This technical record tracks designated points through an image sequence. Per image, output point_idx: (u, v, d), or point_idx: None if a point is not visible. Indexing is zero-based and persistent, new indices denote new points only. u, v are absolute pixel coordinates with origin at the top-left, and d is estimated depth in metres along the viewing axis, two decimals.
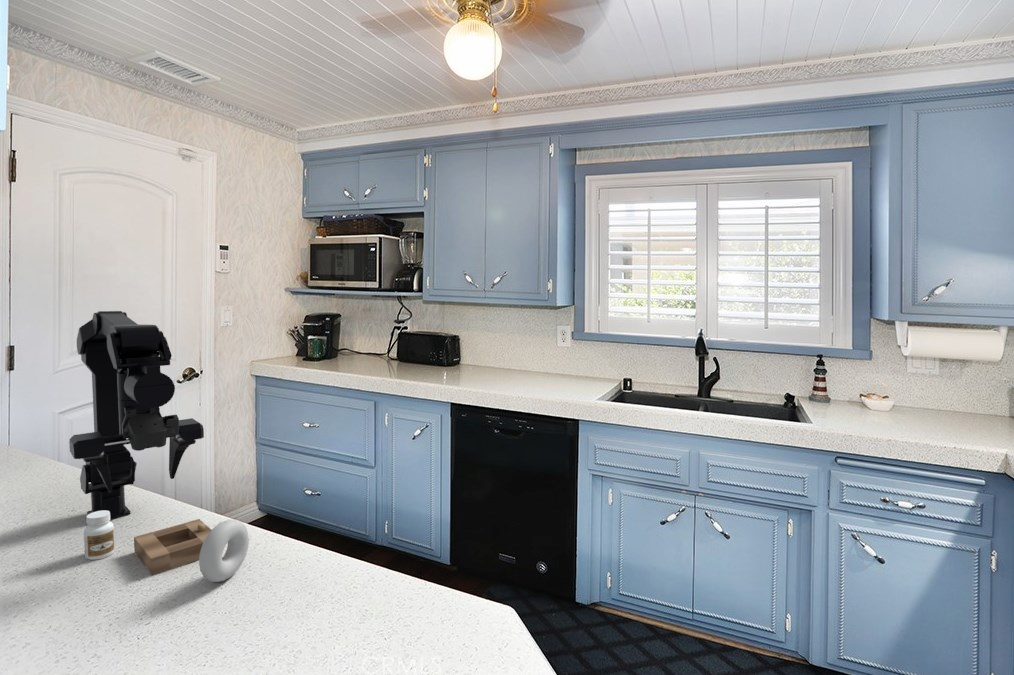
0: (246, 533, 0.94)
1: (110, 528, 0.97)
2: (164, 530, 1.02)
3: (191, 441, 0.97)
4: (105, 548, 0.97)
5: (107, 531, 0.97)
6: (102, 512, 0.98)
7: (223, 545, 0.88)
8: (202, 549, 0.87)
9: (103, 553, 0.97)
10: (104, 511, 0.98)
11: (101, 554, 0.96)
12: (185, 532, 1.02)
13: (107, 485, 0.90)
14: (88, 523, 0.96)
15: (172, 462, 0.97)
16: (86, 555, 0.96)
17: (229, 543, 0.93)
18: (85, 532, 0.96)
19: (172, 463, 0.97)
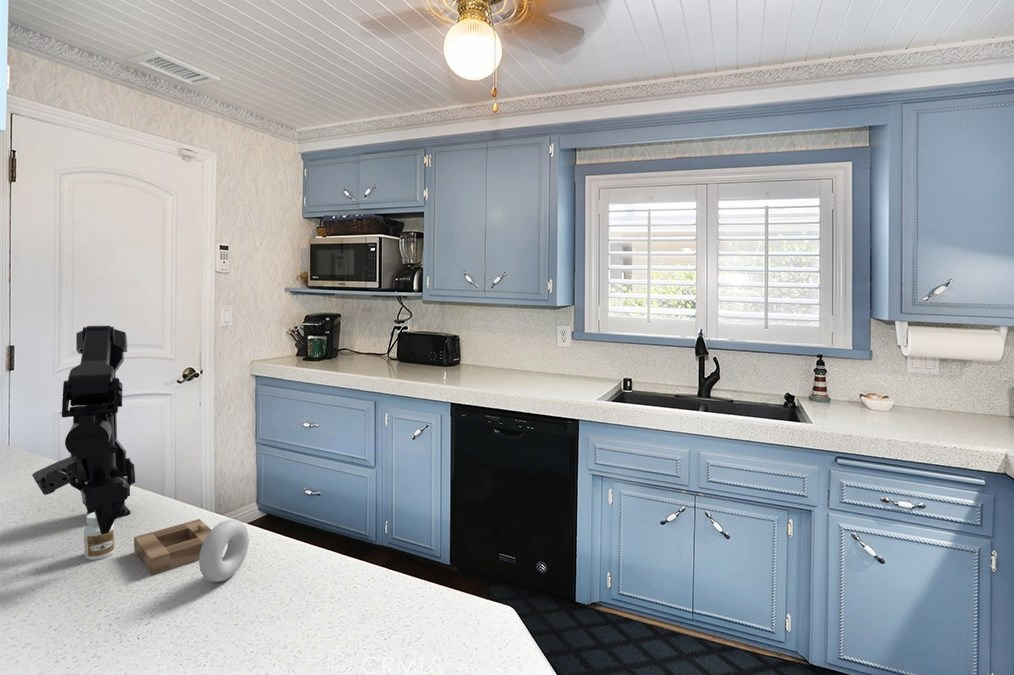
0: (246, 533, 0.94)
1: None
2: (164, 530, 1.02)
3: None
4: (105, 548, 0.97)
5: None
6: None
7: (223, 545, 0.88)
8: (202, 549, 0.87)
9: (103, 553, 0.97)
10: None
11: (101, 554, 0.96)
12: (185, 532, 1.02)
13: (87, 510, 1.00)
14: (88, 523, 0.96)
15: None
16: (86, 555, 0.96)
17: (229, 543, 0.93)
18: (85, 532, 0.96)
19: None
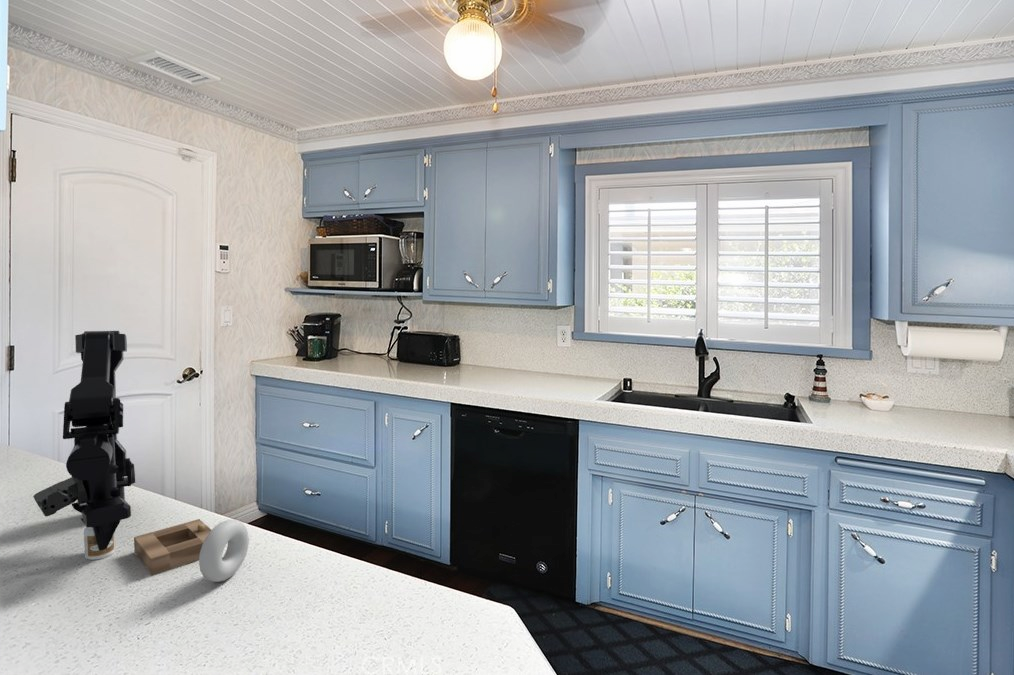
0: (246, 533, 0.94)
1: None
2: (164, 530, 1.02)
3: None
4: None
5: None
6: None
7: (223, 545, 0.88)
8: (202, 549, 0.87)
9: (103, 553, 0.97)
10: None
11: (101, 553, 0.96)
12: (185, 532, 1.02)
13: None
14: None
15: None
16: (86, 555, 0.96)
17: (229, 543, 0.93)
18: (85, 532, 0.96)
19: None
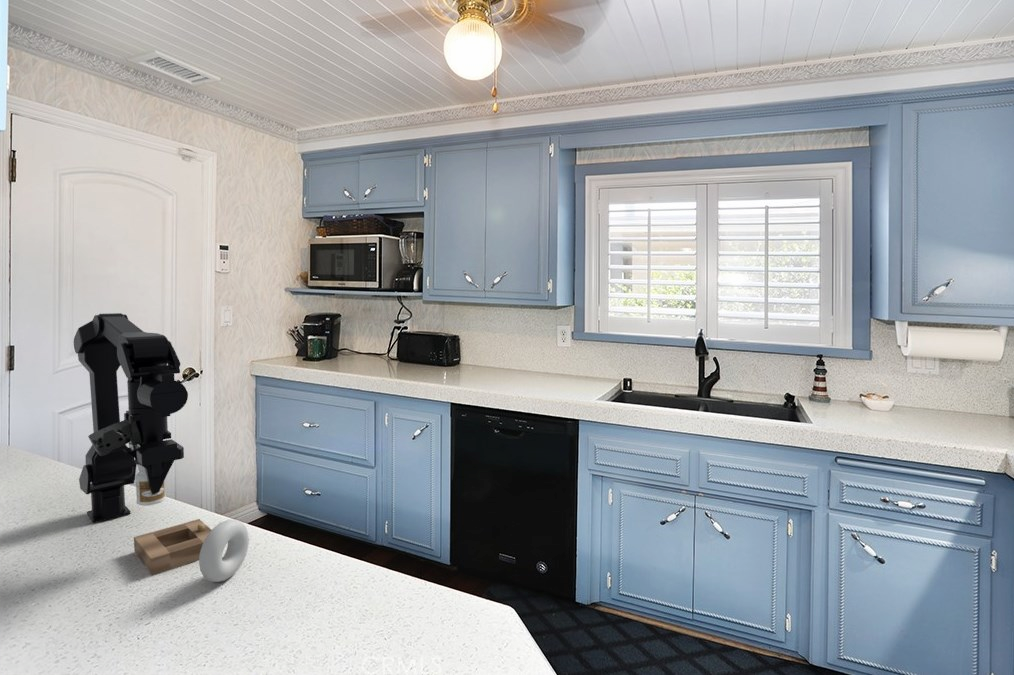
0: (246, 533, 0.94)
1: None
2: (164, 530, 1.02)
3: None
4: (156, 494, 0.96)
5: None
6: None
7: (223, 545, 0.88)
8: (202, 549, 0.87)
9: (154, 499, 0.96)
10: None
11: (153, 500, 0.96)
12: (185, 532, 1.02)
13: None
14: (140, 469, 0.95)
15: None
16: (138, 501, 0.96)
17: (229, 543, 0.93)
18: (137, 477, 0.95)
19: None
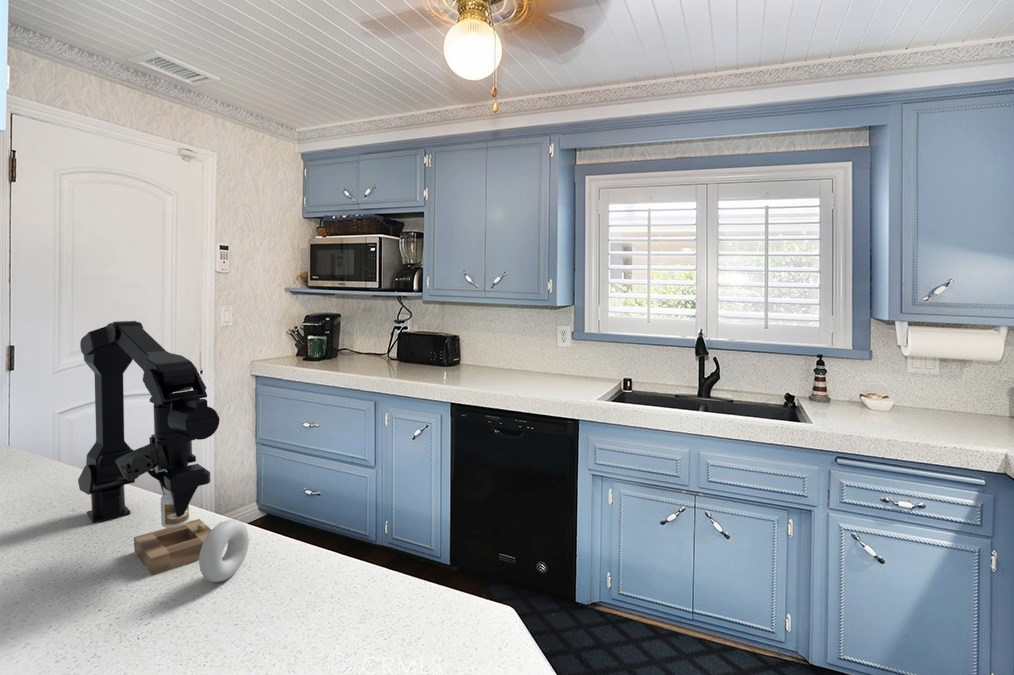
0: (246, 533, 0.94)
1: None
2: (164, 530, 1.02)
3: None
4: (181, 517, 0.97)
5: None
6: None
7: (223, 545, 0.88)
8: (202, 549, 0.87)
9: (179, 522, 0.97)
10: None
11: (177, 522, 0.97)
12: (185, 532, 1.02)
13: None
14: (165, 492, 0.97)
15: None
16: (163, 523, 0.97)
17: (229, 543, 0.93)
18: (162, 500, 0.96)
19: None
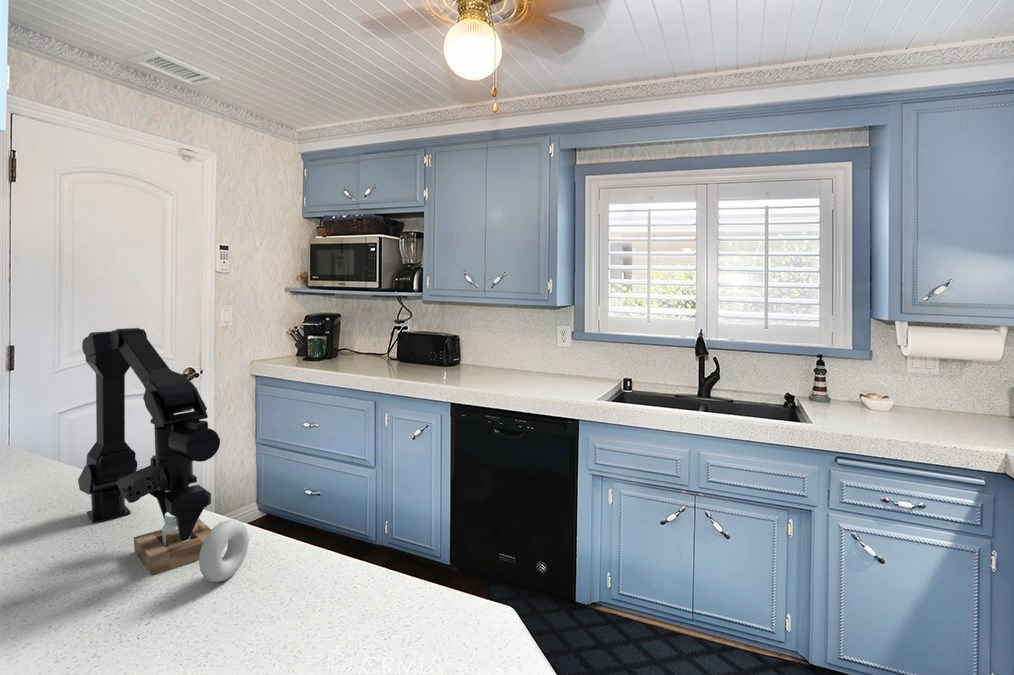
0: (246, 533, 0.94)
1: None
2: None
3: None
4: None
5: None
6: None
7: (223, 545, 0.88)
8: (202, 549, 0.87)
9: None
10: None
11: None
12: None
13: None
14: (166, 521, 0.97)
15: None
16: None
17: (229, 543, 0.93)
18: (164, 530, 0.97)
19: None
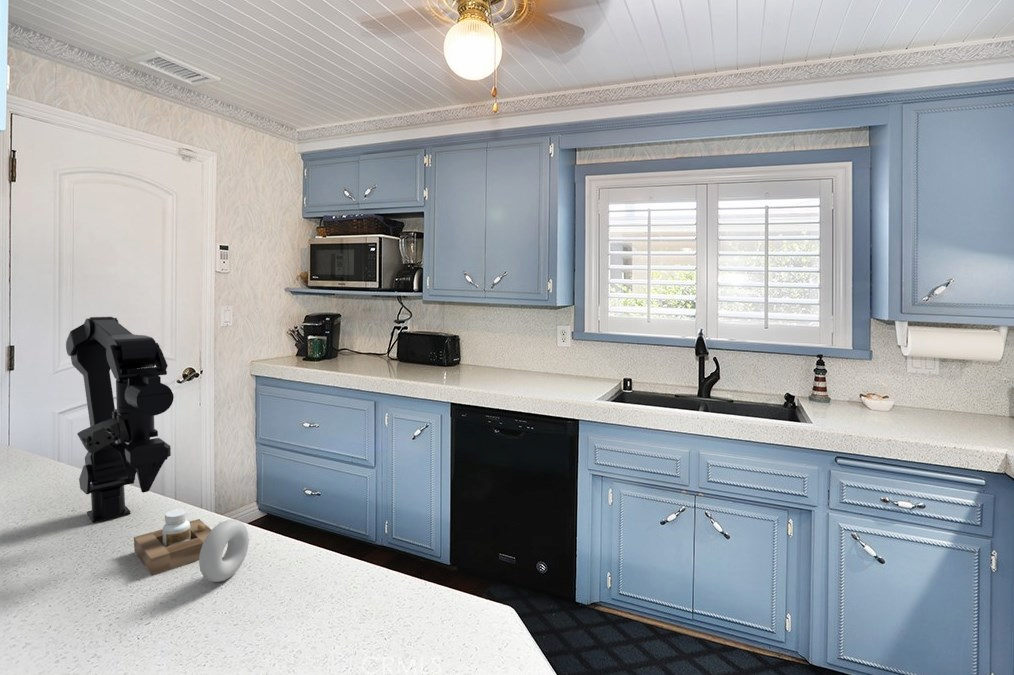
0: (246, 533, 0.94)
1: (187, 526, 0.99)
2: None
3: (131, 462, 0.94)
4: None
5: (184, 529, 0.98)
6: (179, 511, 0.99)
7: (223, 545, 0.88)
8: (202, 549, 0.87)
9: None
10: (181, 510, 1.00)
11: None
12: None
13: (125, 471, 1.04)
14: (167, 521, 0.97)
15: None
16: None
17: (229, 543, 0.93)
18: (164, 530, 0.97)
19: None
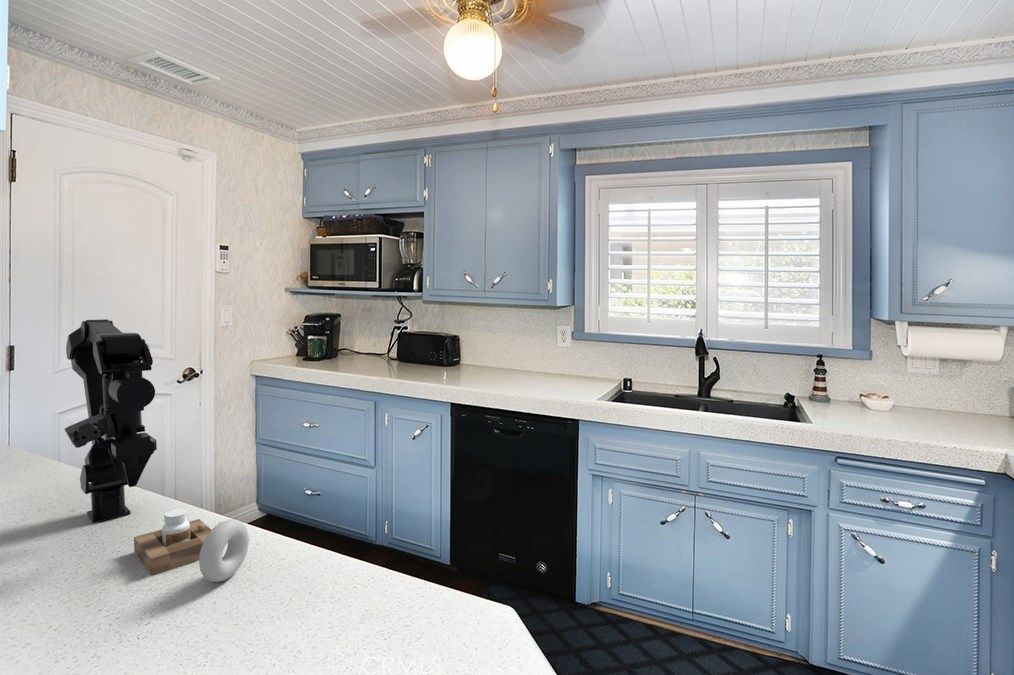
0: (246, 533, 0.94)
1: (187, 526, 0.99)
2: None
3: (117, 456, 0.95)
4: None
5: (184, 529, 0.98)
6: (178, 511, 0.99)
7: (223, 545, 0.88)
8: (202, 549, 0.87)
9: None
10: (180, 510, 1.00)
11: None
12: None
13: (114, 467, 1.05)
14: (166, 521, 0.97)
15: None
16: None
17: (229, 543, 0.93)
18: (164, 530, 0.97)
19: None
